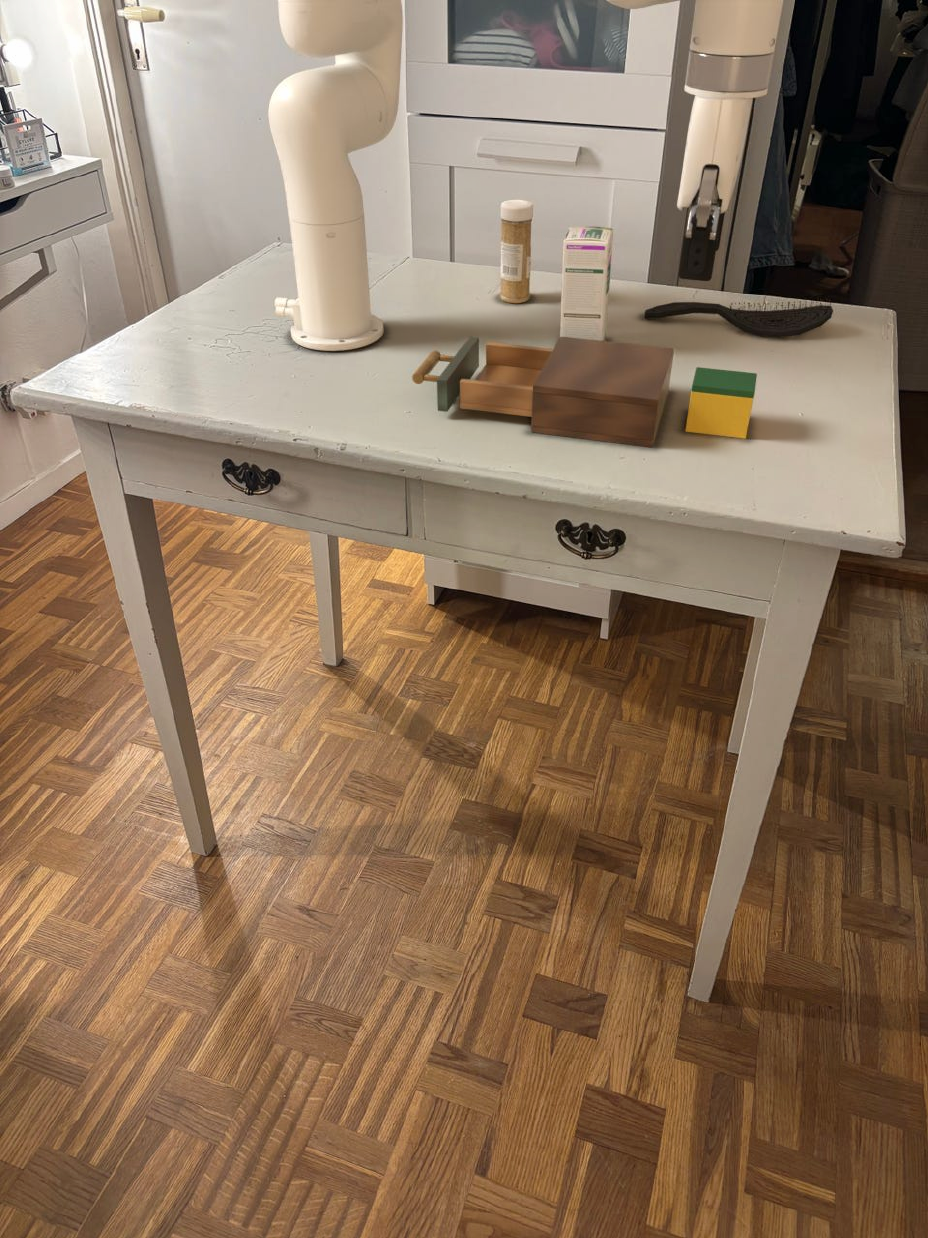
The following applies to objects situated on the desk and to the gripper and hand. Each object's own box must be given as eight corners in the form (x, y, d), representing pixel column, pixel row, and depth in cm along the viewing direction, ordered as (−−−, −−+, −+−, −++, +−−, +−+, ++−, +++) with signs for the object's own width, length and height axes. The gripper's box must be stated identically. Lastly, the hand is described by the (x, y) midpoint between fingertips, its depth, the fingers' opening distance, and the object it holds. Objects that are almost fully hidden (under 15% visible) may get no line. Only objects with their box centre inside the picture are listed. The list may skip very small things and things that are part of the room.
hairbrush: (648, 287, 135) (832, 291, 129) (646, 312, 137) (828, 317, 131) (642, 307, 128) (836, 313, 123) (641, 333, 131) (831, 340, 125)
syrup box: (602, 355, 123) (612, 240, 114) (557, 352, 124) (563, 237, 115) (606, 338, 127) (615, 226, 118) (562, 335, 128) (568, 224, 119)
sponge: (685, 431, 106) (692, 384, 102) (689, 412, 109) (696, 366, 106) (745, 438, 104) (754, 391, 101) (748, 419, 108) (757, 372, 104)
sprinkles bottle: (536, 298, 140) (540, 202, 131) (515, 306, 137) (517, 209, 129) (513, 291, 142) (516, 196, 134) (492, 298, 140) (493, 202, 131)
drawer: (403, 406, 109) (402, 375, 107) (438, 361, 119) (438, 332, 117) (543, 423, 105) (545, 392, 103) (567, 376, 116) (569, 346, 113)
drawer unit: (530, 432, 106) (532, 385, 102) (557, 380, 117) (560, 336, 113) (652, 447, 103) (658, 399, 99) (668, 392, 114) (674, 347, 110)
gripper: (695, 58, 94) (671, 236, 104) (676, 87, 81) (651, 287, 91) (773, 61, 92) (741, 242, 103) (766, 92, 79) (730, 295, 90)
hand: (699, 263), depth 97 cm, fingers open, 9 cm apart
